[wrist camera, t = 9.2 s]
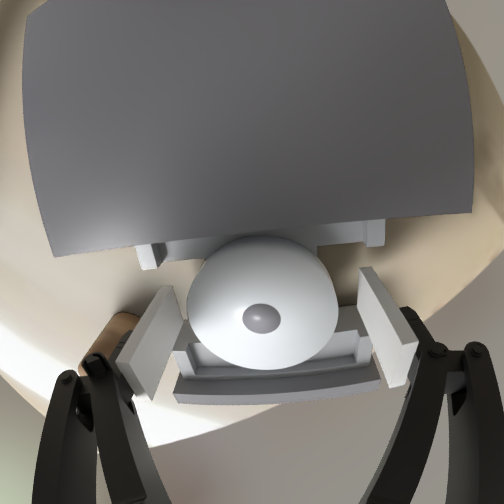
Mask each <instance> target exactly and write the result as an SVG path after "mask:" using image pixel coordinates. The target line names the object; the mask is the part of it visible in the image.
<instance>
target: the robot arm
mask: <svg viewBox="0 0 504 504" xmlns="http://www.w3.org/2000/svg"><path fill="white" fill-rule="evenodd" d="M357 309H358V311H359V313H360V316H361V318H362V320H363V323H364V325H365V327H366V330H367V332H368V334H369V337H370V339H371V342H372V344H373V347H374V349H375V351H376V354H377V357H378V359H379V361H380V364H381V367H382V369H383V372H384V375H385V377H386V380H387V383H388V385H389V388H393V387H397V386H401V385H404V384H405V382H406V379H407V376H408V379H409V381H410V386H409V388H408V391H407V393H406V396H405V401H404V404H403V407H402V410H401V413H400V416H399V419H398V421H397V424H396V426H395V429H394V431H393V434H392V437H391V439H390V441H389V444H388V446H387V449H386V451H385V453H384V455H383V457H382V460H381V462H380V464H379V466H378V468H377V470H376V472H375V474H374V476H373V478H372V480H371V482H370V484H369V486H368V488H367V489H366V491H365V493H364V495H363V497H362V498H361V500H360V502H359V504H410V502H411V500H412V498H413V495H414V493H415V491H416V488H417V486H418V483H419V481H420V478H421V476H422V473H423V470H424V467H425V464H426V462H427V458H428V455H429V452H430V449H431V446H432V442H433V439H434V435H435V432H436V428H437V424H438V420H439V415H440V411H441V406H442V401H443V396H444V394H447V400H448V416H449V472H448V485H447V495H446V503H445V504H504V411H503V406H502V401H501V396H500V392H499V387H498V383H497V379H496V375H495V371H494V368H493V364H492V361H491V358H490V354H489V351H488V349H487V348H486V346H485V345H484V344H482V343H480V342H475V341H474V342H469V343H468V344H467V345H466V346H465V348H464V350H463V351H451V350H448V348H447V347H446V346H445V345H444V344H442V343H439V342H435V341H434V339H433V338H432V336H431V334H430V333H429V331H428V330H427V328H426V327H425V325H424V324H423V322H422V321H421V319H420V318H419V316H418V315H417V313H416V312H415V311H414V310H413V309H411V308H410V307H408V306H407V307H401V308H399V307H398V306H397V304H396V303H395V301H394V300H393V298H392V297H391V295H390V293H389V292H388V290H387V289H386V287H385V286H384V284H383V283H382V281H381V280H380V278H379V277H378V275H377V274H376V273H375V271H374V270H373V268H372V267H362V268H359V281H358V298H357ZM182 325H183V319H182V316H181V313H180V309H179V306H178V303H177V300H176V297H175V293H174V290H173V287H172V286H161V287H160V289H159V290H158V292H157V293H156V295H155V297H154V298H153V300H152V301H151V303H150V304H149V306H148V308H147V309H146V311H145V312H144V314H143V316H142V317H141V319H140V321H139V322H138V324H137V325H136V327H135V329H134V330H128V331H127V332H126V333H125V334H124V335H123V336H122V337H121V339H120V340H119V343H118V344H117V345H116V348H115V349H114V350H113V352H112V353H111V355H110V357H109V358H108V360H107V359H106V357H105V355H104V354H103V353H101V352H93V353H91V354H89V355H87V356H86V357H85V358H84V359H83V360H82V363H81V366H82V367H83V369H84V370H85V372H86V373H87V376H80V377H79V376H78V375H77V373H76V372H75V371H74V370H66V371H64V372H62V373H61V374H60V375H59V376H58V378H57V380H56V384H55V387H54V390H53V393H52V397H51V400H50V404H49V407H48V411H47V415H46V419H45V423H44V427H43V432H42V436H41V441H40V446H39V451H38V457H37V462H36V469H35V476H34V484H33V493H32V504H96V464H97V446H98V450H99V455H100V459H101V464H102V468H103V472H104V476H105V480H106V484H107V488H108V491H109V495H110V498H111V502H112V504H172V503H171V501H170V499H169V497H168V495H167V492H166V490H165V488H164V485H163V483H162V481H161V479H160V476H159V474H158V471H157V469H156V466H155V464H154V461H153V459H152V456H151V453H150V451H149V448H148V445H147V442H146V439H145V437H144V434H143V431H142V427H141V424H140V421H139V418H138V415H137V411H136V408H135V404H134V402H133V401H132V399H131V398H132V396H133V394H135V395H136V397H137V399H138V400H141V401H149V402H152V400H153V397H154V395H155V392H156V390H157V387H158V384H159V382H160V379H161V377H162V374H163V372H164V369H165V367H166V364H167V361H168V359H169V356H170V354H171V352H172V349H173V347H174V344H175V342H176V339H177V337H178V334H179V332H180V329H181V327H182Z"/></svg>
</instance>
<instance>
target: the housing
mask: <svg viewBox="0 0 504 504" xmlns="http://www.w3.org/2000/svg"><path fill="white" fill-rule="evenodd" d="M22 94H23V114H24V126H25V136H26V144H27V151H28V158H29V164H30V169H31V175H32V180H33V185H34V189H35V194H36V198H37V202H38V206H39V210H40V214H41V217H42V221H43V224H44V228H45V231H46V234H47V238H48V241H49V244H50V247H51V250H52V253H53V256H54V257H61V256H68V255H74V254H81V253H88V252H95V251H102V250H109V249H116V248H124V247H131V246H138V245H146V244H154V243H161V242H169V241H177V240H185V239H194V238H202V237H210V236H219V235H227V234H236V233H245V232H254V231H263V230H273V229H282V228H292V227H302V226H312V225H322V224H333V223H344V222H355V221H366V220H378V219H390V218H402V217H415V216H429V215H443V214H458V213H472V204H473V189H474V139H473V124H472V113H471V104H470V97H469V90H468V84H467V78H466V72H465V67H464V63H463V58H462V54H461V50H460V46H459V42H458V38H457V35H456V31H455V28H454V25H453V22H452V19H451V16H450V13H449V10H448V7H447V4H446V2H445V0H48V1H47V2H45V3H44V4H43V5H41V6H40V7H39V8H37V9H36V10H35V11H33V12H32V13H31V14H29V15H28V16H27V21H26V29H25V38H24V49H23V68H22Z"/></svg>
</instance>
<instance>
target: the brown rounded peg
mask: <svg viewBox="0 0 504 504" xmlns="http://www.w3.org/2000/svg"><path fill="white" fill-rule="evenodd" d="M140 319H141V318H139V317H137V316H135V315H133V314H130V313H117V314H115V315H114V316H113V317H112V318H111V320H110V321H109V322H108V324H107V325H106V326H105V328H104V329H103V331H102V332H101V333H100V335H99V336H98V338H97V339H96V340H95V342H94V343H93V345H92V346H91V348H90V349H89V351H88V352H87V353H86V355H85V356H84V358H85V357H86V356H87V355H89V354H91V353H93V352H101V353H103V354H104V355H105V357H106V359H107V360H108V358H109V357H110V355H111V353H112V352H113V350H114V349H115V348H116V345H117V344H118V343H119V340H120V339H121V337H122V336H123V335H124V334H125V333H126V332H127V331H128V330H134V329H135V327H136V325H137V324H138V322H139V321H140ZM84 358H83V359H84ZM83 359H82V360H83ZM81 363H82V361H81V362H80V364H79V366H78V372H79V375H80V376H87V373H86V372H85V370H84V369H83V367H82V366H81Z"/></svg>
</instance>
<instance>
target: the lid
mask: <svg viewBox="0 0 504 504" xmlns="http://www.w3.org/2000/svg"><path fill="white" fill-rule="evenodd" d="M187 314H188V319H189V322H190V325H191V327H192V329H193V331H194V333H195V335H196V336H197V337H198V339H199V340H200V341H201V343H202V344H203V345H204V346H205V347H206V348H207V349H209V350H210V351H211V352H212V353H214V354H215V355H217V356H218V357H220V358H222V359H223V360H225V361H227V362H230V363H232V364H235V365H238V366H241V367H245V368H250V369H258V370H274V369H282V368H287V367H290V366H294V365H296V364H299V363H302V362H304V361H305V360H307V359H309V358H311V357H312V356H314V355H315V354H316V353H318V352H319V351H320V350H321V349H322V348H323V347H324V346H325V345H326V344H327V343H328V341H329V340H330V338H331V337H332V335H333V333H334V330H335V328H336V325H337V321H338V302H337V297H336V294H335V290H334V287H333V283H332V280H331V278H330V275H329V273H328V271H327V269H326V268H325V266H324V265H323V263H322V262H321V261H320V260H319V259H318V258H317V257H316V256H315V255H314V254H313V253H312V252H311V251H309V250H308V249H306V248H305V247H303V246H301V245H299V244H297V243H295V242H293V241H290V240H287V239H284V238H279V237H275V236H250V237H244V238H240V239H237V240H234V241H232V242H229V243H227V244H225V245H223V246H222V247H220V248H218V249H217V250H216V251H215V252H213V253H212V254H211V255H210V256H209V257H208V258H207V260H206V261H205V262H204V264H203V265H202V267H201V268H200V270H199V272H198V274H197V275H196V277H195V279H194V281H193V283H192V285H191V287H190V290H189V293H188V297H187Z"/></svg>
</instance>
